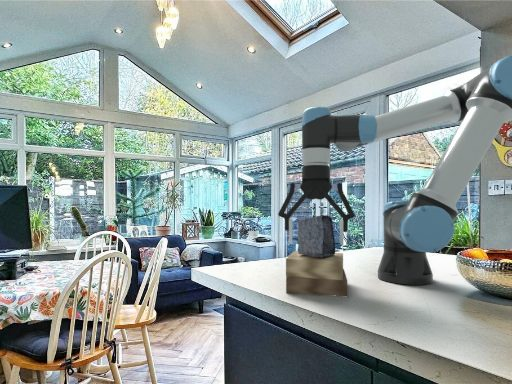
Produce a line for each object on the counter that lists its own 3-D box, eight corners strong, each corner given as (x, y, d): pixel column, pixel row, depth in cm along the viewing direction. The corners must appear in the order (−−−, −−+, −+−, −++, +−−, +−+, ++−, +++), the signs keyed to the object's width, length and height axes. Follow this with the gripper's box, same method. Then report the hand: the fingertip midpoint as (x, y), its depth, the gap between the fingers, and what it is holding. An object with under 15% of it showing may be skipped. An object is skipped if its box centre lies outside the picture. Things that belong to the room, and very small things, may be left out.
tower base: (343, 284, 99) (343, 268, 99) (347, 298, 85) (347, 280, 85) (291, 281, 102) (291, 266, 102) (286, 295, 87) (286, 277, 88)
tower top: (343, 269, 98) (343, 253, 99) (342, 280, 85) (342, 261, 85) (294, 266, 102) (294, 251, 102) (285, 276, 88) (285, 258, 89)
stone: (342, 262, 93) (328, 255, 86) (308, 265, 98) (292, 259, 91) (338, 220, 98) (325, 209, 90) (306, 225, 103) (291, 216, 95)
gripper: (361, 166, 96) (361, 243, 95) (272, 167, 100) (272, 240, 100) (365, 163, 88) (365, 246, 88) (268, 164, 93) (268, 244, 92)
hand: (315, 243), depth 94 cm, fingers open, 13 cm apart
